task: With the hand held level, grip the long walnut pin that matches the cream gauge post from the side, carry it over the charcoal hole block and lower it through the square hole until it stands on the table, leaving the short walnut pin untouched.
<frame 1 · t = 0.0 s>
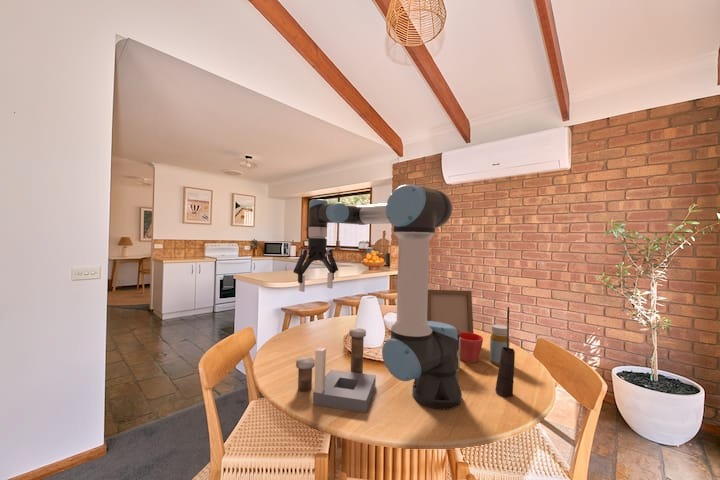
hand: (316, 289, 121), 28 cm above the table, tool pointing down, fingers open, 13 cm apart
short pin: (304, 388, 97), on the table
hole block: (346, 394, 94), on the table
bottle: (499, 363, 121), on the table
photo frame: (446, 340, 147), on the table
coffee can: (446, 367, 116), on the table
flower pot: (468, 359, 124), on the table
long pin: (356, 374, 107), on the table
walkie talkie: (505, 395, 96), on the table
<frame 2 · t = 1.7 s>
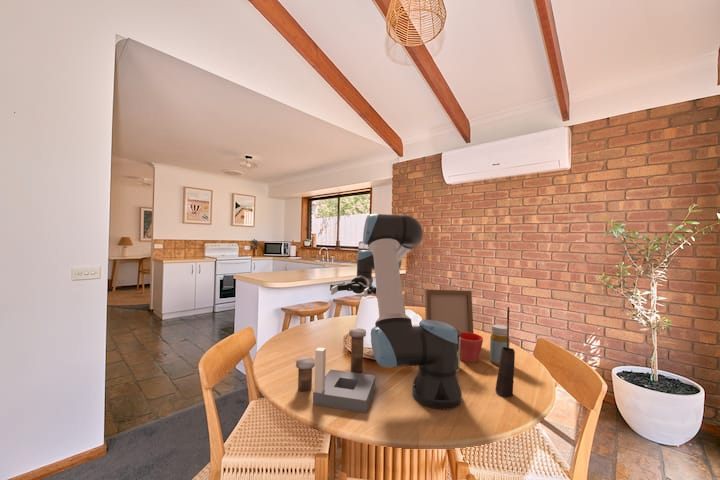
hand: (348, 292, 118), 28 cm above the table, tool horizontal, fingers open, 13 cm apart
nothing on the table moved.
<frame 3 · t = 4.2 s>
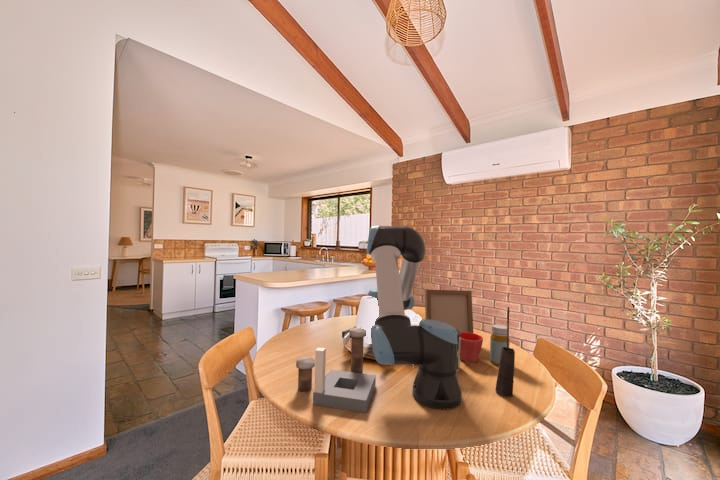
hand: (361, 343, 115), 9 cm above the table, tool horizontal, fingers open, 13 cm apart
nothing on the table moved.
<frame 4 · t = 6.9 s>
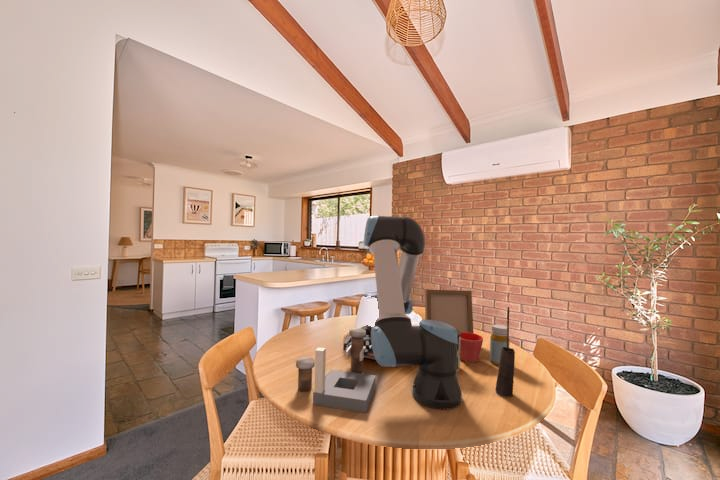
hand: (353, 356, 102), 9 cm above the table, tool horizontal, fingers closed on long pin, 4 cm apart
long pin: (356, 374, 107), on the table, touching gripper
everything else where it was.
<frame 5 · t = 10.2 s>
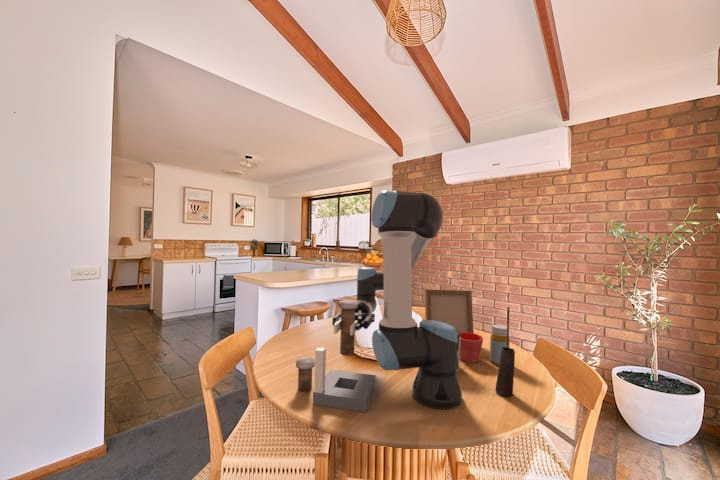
hand: (343, 330, 88), 22 cm above the table, tool horizontal, fingers closed on long pin, 4 cm apart
long pin: (347, 352, 94), point 13 cm above the table, touching gripper
everything else where it was.
when the fingers open (10 cm above the table, at t = 13.4 s): long pin stays where it is, resting in hole block.
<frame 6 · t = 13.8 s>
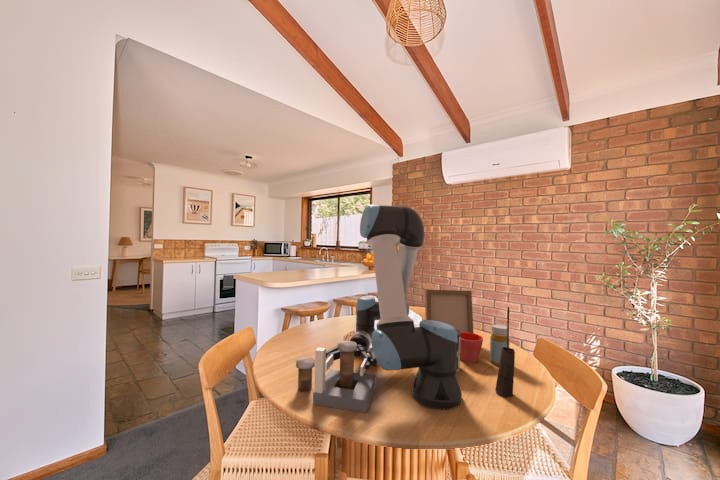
hand: (343, 369, 89), 10 cm above the table, tool horizontal, fingers open, 10 cm apart
long pin: (346, 394, 94), resting in hole block
everything else where it was.
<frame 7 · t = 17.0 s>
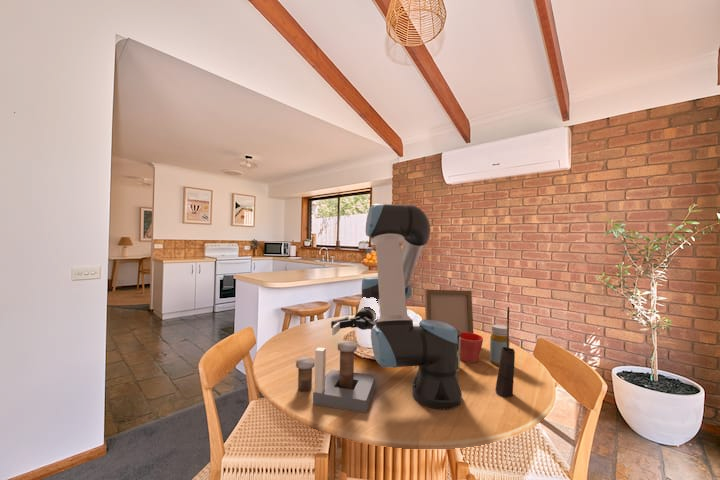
hand: (352, 332, 101), 17 cm above the table, tool horizontal, fingers open, 13 cm apart
nothing on the table moved.
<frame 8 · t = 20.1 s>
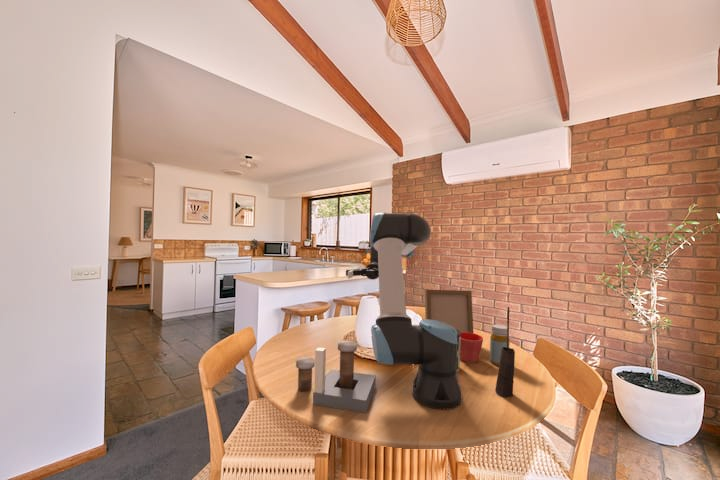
hand: (364, 276, 121), 34 cm above the table, tool horizontal, fingers open, 13 cm apart
nothing on the table moved.
at the end: long pin 0.1 cm off-centre on the hole block, point 0.0 cm above the hole block's base; long pin tilted 0°; short pin moved 0.0 cm from its start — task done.
